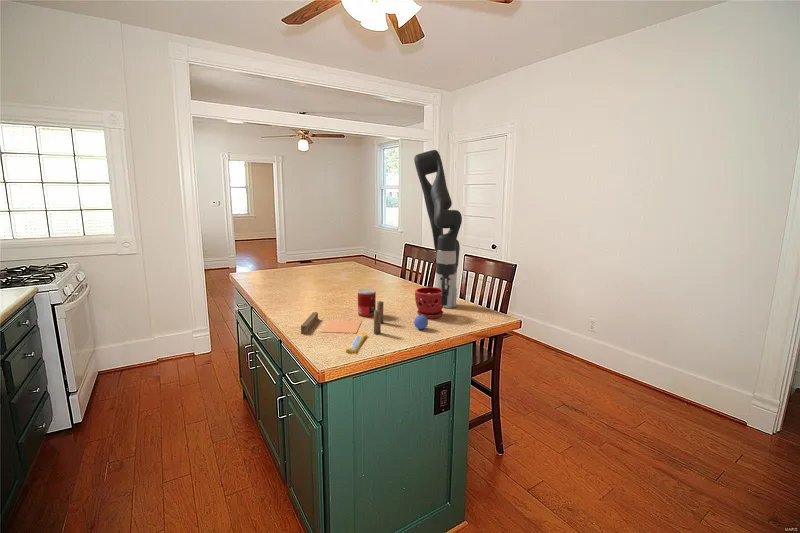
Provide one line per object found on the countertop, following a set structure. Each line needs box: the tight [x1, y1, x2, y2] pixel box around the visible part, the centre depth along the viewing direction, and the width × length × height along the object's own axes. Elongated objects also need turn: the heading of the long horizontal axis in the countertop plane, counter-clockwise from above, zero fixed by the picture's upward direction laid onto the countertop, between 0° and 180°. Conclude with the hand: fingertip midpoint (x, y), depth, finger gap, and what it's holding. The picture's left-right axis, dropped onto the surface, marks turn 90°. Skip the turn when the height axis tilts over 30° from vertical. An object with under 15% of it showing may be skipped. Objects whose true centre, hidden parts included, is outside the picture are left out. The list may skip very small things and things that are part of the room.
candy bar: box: [345, 333, 369, 354], centre depth 134 cm, size 17×4×2 cm, turn 172°
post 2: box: [373, 309, 382, 335], centre depth 145 cm, size 3×3×9 cm
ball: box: [413, 315, 429, 330], centre depth 151 cm, size 6×6×6 cm
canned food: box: [357, 288, 377, 318], centre depth 168 cm, size 8×8×11 cm
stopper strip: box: [300, 311, 319, 335], centre depth 153 cm, size 2×18×3 cm, turn 178°
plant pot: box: [414, 286, 444, 320], centre depth 168 cm, size 13×13×12 cm
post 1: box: [376, 300, 384, 325], centre depth 158 cm, size 3×3×9 cm
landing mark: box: [320, 320, 362, 334], centre depth 153 cm, size 14×14×1 cm
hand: (444, 304), depth 149 cm, fingers closed
